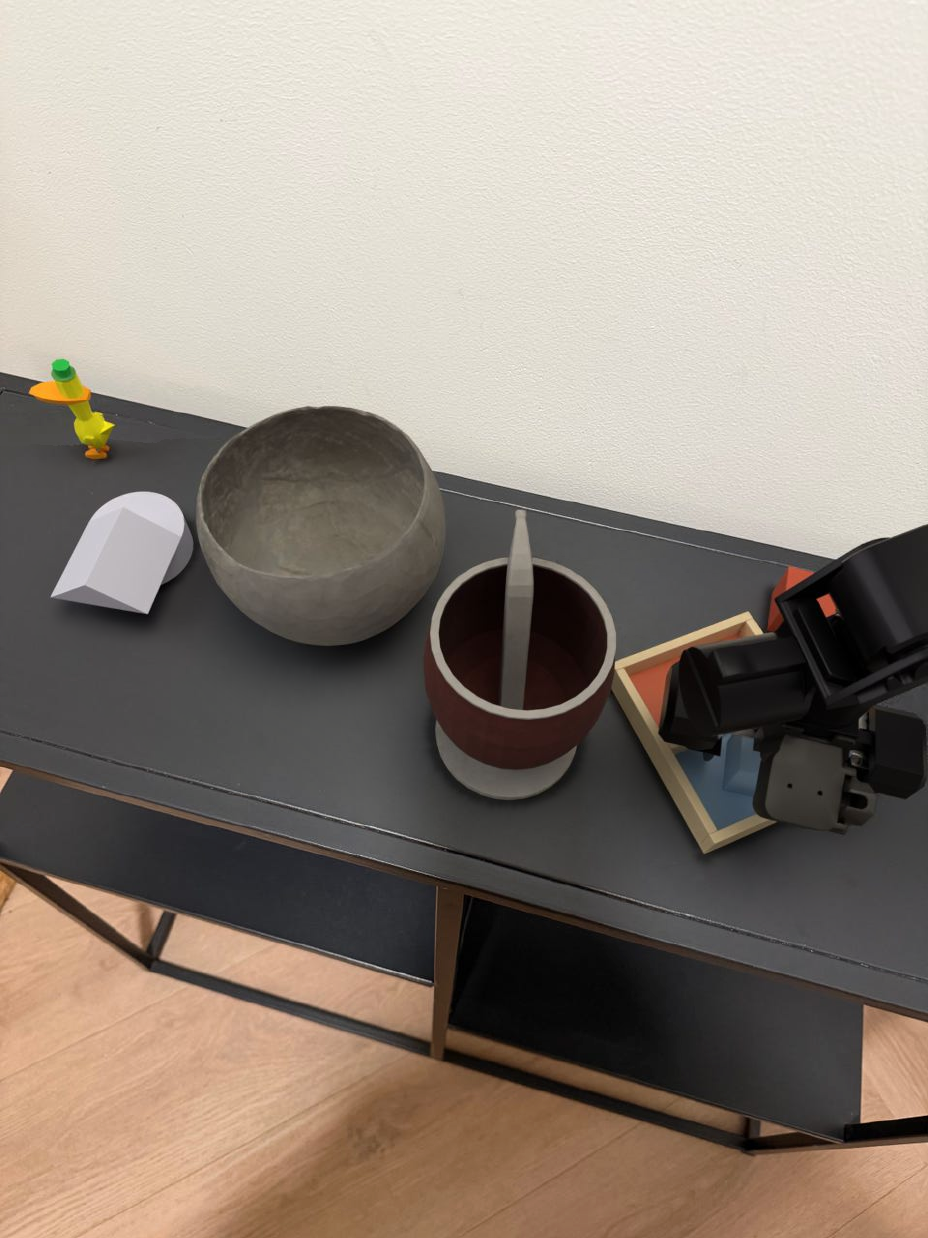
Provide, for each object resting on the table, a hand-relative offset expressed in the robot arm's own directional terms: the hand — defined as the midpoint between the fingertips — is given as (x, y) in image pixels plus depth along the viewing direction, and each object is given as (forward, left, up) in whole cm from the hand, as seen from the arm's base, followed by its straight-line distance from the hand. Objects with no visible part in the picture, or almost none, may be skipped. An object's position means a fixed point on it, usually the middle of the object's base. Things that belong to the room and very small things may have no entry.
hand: (753, 767), depth 69 cm
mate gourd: (+17, -12, -2) cm, 21 cm away
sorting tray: (0, -4, -2) cm, 4 cm away
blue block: (0, 0, -1) cm, 1 cm away
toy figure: (+44, -56, -2) cm, 71 cm away
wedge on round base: (+43, -40, -2) cm, 59 cm away
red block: (-13, -12, -2) cm, 17 cm away
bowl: (+26, -31, -2) cm, 41 cm away
